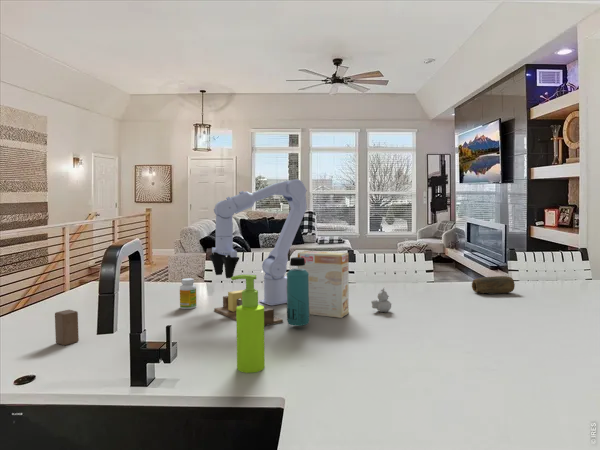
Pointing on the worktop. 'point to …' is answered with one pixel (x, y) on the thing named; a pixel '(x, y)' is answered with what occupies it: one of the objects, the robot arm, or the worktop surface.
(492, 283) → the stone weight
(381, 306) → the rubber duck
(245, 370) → the soap dispenser
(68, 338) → the wooden block
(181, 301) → the supplement bottle
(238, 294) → the yellow notched block
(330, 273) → the coffeecake box
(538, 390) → the worktop surface
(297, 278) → the beverage bottle
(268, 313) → the rail
